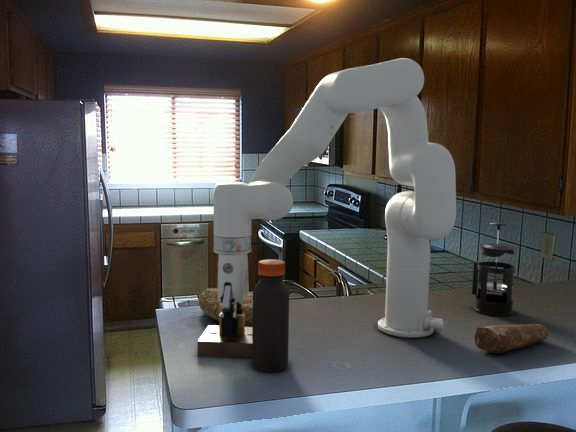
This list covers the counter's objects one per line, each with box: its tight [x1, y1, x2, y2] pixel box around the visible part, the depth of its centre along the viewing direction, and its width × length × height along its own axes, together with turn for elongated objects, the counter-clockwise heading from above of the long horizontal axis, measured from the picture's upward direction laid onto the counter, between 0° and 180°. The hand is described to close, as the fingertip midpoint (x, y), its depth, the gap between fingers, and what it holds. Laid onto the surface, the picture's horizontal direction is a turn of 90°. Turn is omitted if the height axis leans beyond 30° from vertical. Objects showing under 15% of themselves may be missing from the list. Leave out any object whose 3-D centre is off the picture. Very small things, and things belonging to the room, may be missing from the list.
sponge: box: [198, 287, 253, 326], centre depth 132 cm, size 13×8×20 cm
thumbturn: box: [218, 313, 246, 335], centre depth 114 cm, size 5×2×4 cm, turn 86°
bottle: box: [251, 258, 290, 373], centre depth 105 cm, size 7×7×20 cm
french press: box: [471, 221, 517, 317], centre depth 143 cm, size 12×9×23 cm
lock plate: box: [197, 324, 253, 359], centre depth 114 cm, size 12×10×3 cm
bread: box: [474, 323, 549, 354], centre depth 117 cm, size 6×19×6 cm, turn 119°
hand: (232, 330), depth 114 cm, fingers open, 5 cm apart
